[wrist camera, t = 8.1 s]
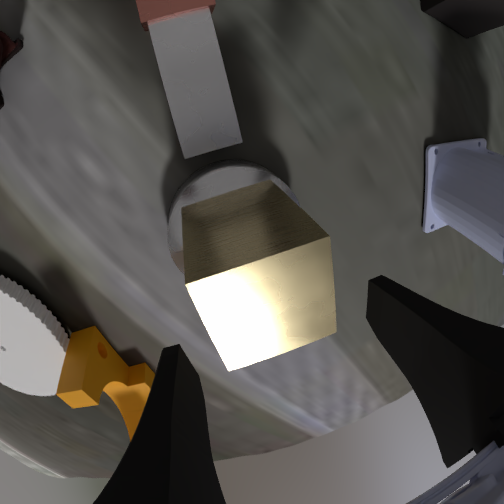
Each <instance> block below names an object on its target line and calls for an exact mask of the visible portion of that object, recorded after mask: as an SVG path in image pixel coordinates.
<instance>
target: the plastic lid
mask: <svg viewBox="0 0 504 504" xmlns="http://www.w3.org/2000/svg"><path fill="white" fill-rule="evenodd" d="M56 319H57V318H56V317H55V316H53V315H52V312H51V311H50V310H47V307H46V306H45V305H43V304H41V301H40V300H39V299H38V300H37V299H36V298H35V295H33V294H32V295H31V294H30V293H29V291H28V290H27V289H26V290H25V289H23V286H21V285H17V283H16V282H15V281H13V282H12V281H11V280H10V278H7V279H6V278H4V276H3V275H1V276H0V382H1V383H2V384H3V385H6V386H7V387H10V388H12V389H13V390H14V389H15V390H17V391H20V392H22V393H26V394H31V395H36V396H38V395H40V396H43V395H44V396H47V395H48V396H51V395H55V394H56V392H57V387H58V383H59V378H60V374H61V370H62V366H63V362H64V358H65V355H66V351H67V347H68V344H69V341H70V339H69V338H68V334H67V333H65V332H64V331H65V329H64V328H63V327H61V323H60V322H58V321H57V320H56Z"/></svg>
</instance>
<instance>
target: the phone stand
mask: <svg viewBox="0 0 504 504" xmlns="http://www.w3.org/2000/svg"><path fill="white" fill-rule="evenodd" d="M420 1H421V10H422V11H423V12H425V13H427V14H429V15H430V16H432V17H434V18H436V19H437V20H439V21H441V22H442V23H444V24H446V25H447V26H449V27H450V28H452V29H454V30H455V31H457V32H458V33H460V34H461V35H463V36H464V37H466V38H470V37H472V36H475V35H478V34H480V33H483V32H486V31H488V30H491V29H494V28H497V27H500V26H503V25H504V0H420Z"/></svg>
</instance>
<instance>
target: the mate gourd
mask: <svg viewBox="0 0 504 504" xmlns="http://www.w3.org/2000/svg"><path fill="white" fill-rule="evenodd" d="M22 48H23V43H22V40H20V39H16V40H15V41H14V42H13V41H12V40H11V39H10V37H9V36H7V35H6V34H5V33H4V32H2V31H0V68H1V67H2V66H3V65H4V64H5V63H6V62H7V61H9V60H10V59H11V58H12V57H13V56H14V55H15V54H17V53H18V52H19V51H20V50H21V49H22ZM3 106H4V102H3V98H2V95H1V92H0V109H1V108H2V107H3Z"/></svg>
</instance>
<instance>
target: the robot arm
mask: <svg viewBox="0 0 504 504" xmlns="http://www.w3.org/2000/svg"><path fill="white" fill-rule="evenodd" d="M486 144H487V143H486V139H484V138H477V139H469V140H462V141H454V142H448V143H441V144H435V145H429V146H428V147H427V148H426V178H425V203H424V217H423V231H424V232H425V233H429V232H431V231H434V230H436V229H439V228H441V227H443V226H446V225H450V226H451V227H453V228H454V229H456V230H457V231H458V232H460V233H461V234H463V235H464V236H466V237H467V238H469V239H470V240H471V241H473V242H474V243H476V244H477V245H478V246H480V247H481V248H483V249H484V250H485V251H487V252H488V253H489V254H491V255H492V256H493V257H495V258H496V259H497V260H498V261H500V262H501V263H502V264H504V156H503V155H501V154H498V153H496V152H493V151H491V150H488V149H486ZM434 151H435V152H434ZM502 274H503V275H504V270H503V273H502ZM366 319H367V321H368V322H369V324H370V326H371V328H372V330H373V331H374V333H375V335H376V337H377V338H378V340H379V341H380V343H381V344H382V345H383V347H384V348H385V349H386V351H387V352H388V353H389V355H390V356H391V358H392V359H393V360H394V362H395V363H396V364H397V366H398V367H399V368H400V370H401V371H402V373H403V374H404V375H405V377H406V378H407V380H408V381H409V383H410V384H411V386H412V388H413V390H414V391H415V393H416V395H417V397H418V399H419V401H420V403H421V405H422V407H423V409H424V411H425V413H426V415H427V418H428V420H429V422H430V424H431V427H432V429H433V432H434V434H435V437H436V440H437V443H438V446H439V449H440V452H441V455H442V459H443V462H444V463H445V465H446V467H447V468H449V467H450V466H452V465H453V464H455V463H456V462H457V461H459V460H461V459H462V458H463V457H465V456H466V455H467V454H469V453H470V452H471V451H472V450H474V451H475V453H476V454H477V455H475V456H474V457H473V458H472V459H471V460H469V461H468V462H467V463H466V464H464V465H463V466H462V467H460V468H459V469H458V470H457V471H455V472H454V473H452V474H451V475H450V476H448V477H447V478H446V479H444V480H443V481H441V482H440V483H438V484H437V485H436V486H434V487H432V488H431V489H429V490H428V491H426V492H425V493H423V494H422V495H420V496H418V497H416V498H415V499H413V500H412V501H410V502H408V503H406V504H437V503H438V502H440V501H441V500H443V499H444V498H446V497H447V496H448V495H449V494H451V493H452V494H451V495H450V496H448V497H447V498H446V499H445V500H444V501H442V502H441V503H440V504H504V328H502V327H498V326H494V325H491V324H487V323H484V322H481V321H478V320H475V319H472V318H469V317H467V316H464V315H461V314H459V313H456V312H454V311H452V310H450V309H448V308H445V307H443V306H441V305H439V304H437V303H435V302H433V301H431V300H429V299H427V298H425V297H423V296H421V295H419V294H417V293H415V292H413V291H411V290H410V289H408V288H406V287H404V286H402V285H400V284H398V283H396V282H395V281H393V280H391V279H389V278H387V277H385V276H383V275H380V276H378V277H376V278H373V279H371V280H368V298H367V312H366ZM468 480H470V483H469V484H467V485H465V486H464V487H462V488H460V489H458V488H459V487H461V486H462V485H463V484H465V483H466V482H467V481H468ZM457 489H458V490H457ZM455 490H457V491H455ZM454 491H455V492H454ZM453 492H454V493H453ZM93 504H226V502H225V499H224V497H223V494H222V490H221V487H220V484H219V481H218V477H217V474H216V470H215V466H214V463H213V458H212V453H211V447H210V440H209V432H208V424H207V416H206V407H205V399H204V395H203V391H202V386H201V382H200V378H199V375H198V373H197V372H196V370H195V369H194V367H193V365H192V364H191V362H190V361H189V359H188V357H187V356H186V354H185V353H184V351H183V349H182V348H181V346H180V344H177V345H174V346H170V347H166V348H163V350H162V353H161V356H160V360H159V363H158V367H157V370H156V373H155V377H154V380H153V383H152V386H151V389H150V392H149V395H148V398H147V401H146V404H145V407H144V410H143V412H142V415H141V418H140V420H139V423H138V425H137V428H136V430H135V433H134V435H133V437H132V439H131V441H130V444H129V446H128V448H127V450H126V452H125V454H124V456H123V458H122V459H121V461H120V463H119V465H118V467H117V469H116V470H115V472H114V474H113V475H112V477H111V478H110V480H109V481H108V483H107V485H106V486H105V487H104V489H103V491H102V492H101V494H100V495H99V496H98V498H97V499H96V500H95V501H94V503H93Z"/></svg>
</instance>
